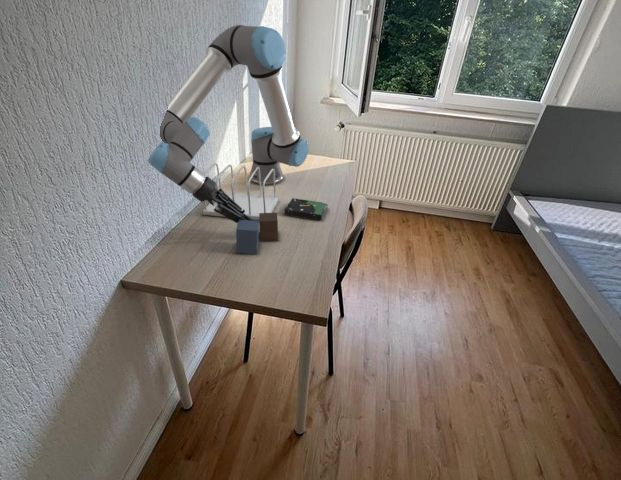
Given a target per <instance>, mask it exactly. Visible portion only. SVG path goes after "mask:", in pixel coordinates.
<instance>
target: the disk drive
mask: <svg viewBox="0 0 621 480" xmlns="http://www.w3.org/2000/svg"><path fill="white" fill-rule="evenodd" d="M328 207H329V206H328V203H326V202H320V201H313V200H308V199H301V198H296V197H295V198H294V197H292V198H291V200H290V201H289V202H288V204H287V206H285V208H284V215H286V216H291V217H296V218H304V219H309V220H314V221H315V220H316V221H322V220H323V219H324V216H325V214H326V213H327V210H328Z"/></svg>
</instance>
